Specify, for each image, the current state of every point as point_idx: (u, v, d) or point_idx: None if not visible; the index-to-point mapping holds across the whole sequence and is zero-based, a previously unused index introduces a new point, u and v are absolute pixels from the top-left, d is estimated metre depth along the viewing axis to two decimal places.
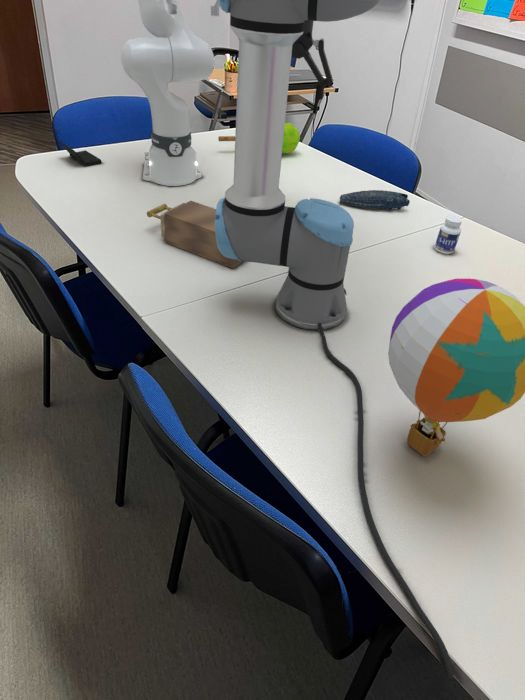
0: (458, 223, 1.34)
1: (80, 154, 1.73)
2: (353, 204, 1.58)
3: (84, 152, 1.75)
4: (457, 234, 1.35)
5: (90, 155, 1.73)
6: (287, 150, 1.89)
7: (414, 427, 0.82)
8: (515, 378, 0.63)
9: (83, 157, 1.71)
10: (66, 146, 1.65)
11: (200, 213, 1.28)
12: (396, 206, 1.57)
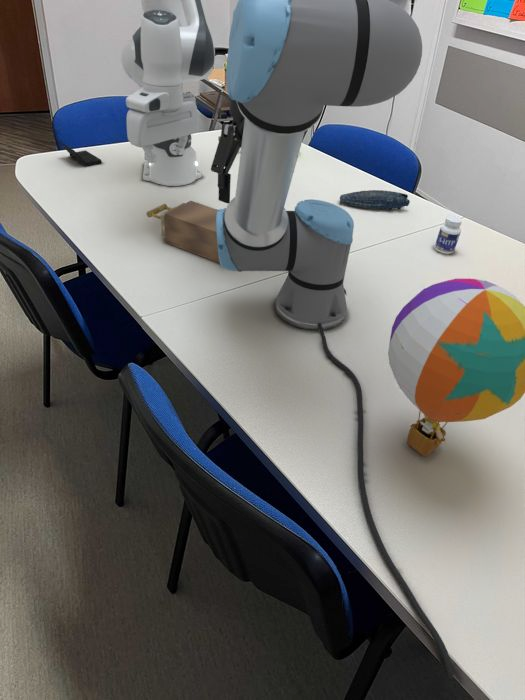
0: (458, 223, 1.34)
1: (80, 154, 1.73)
2: (353, 204, 1.58)
3: (84, 152, 1.75)
4: (457, 234, 1.35)
5: (90, 155, 1.73)
6: None
7: (414, 427, 0.82)
8: (515, 378, 0.63)
9: (83, 157, 1.71)
10: (66, 146, 1.65)
11: (200, 213, 1.28)
12: (396, 206, 1.57)
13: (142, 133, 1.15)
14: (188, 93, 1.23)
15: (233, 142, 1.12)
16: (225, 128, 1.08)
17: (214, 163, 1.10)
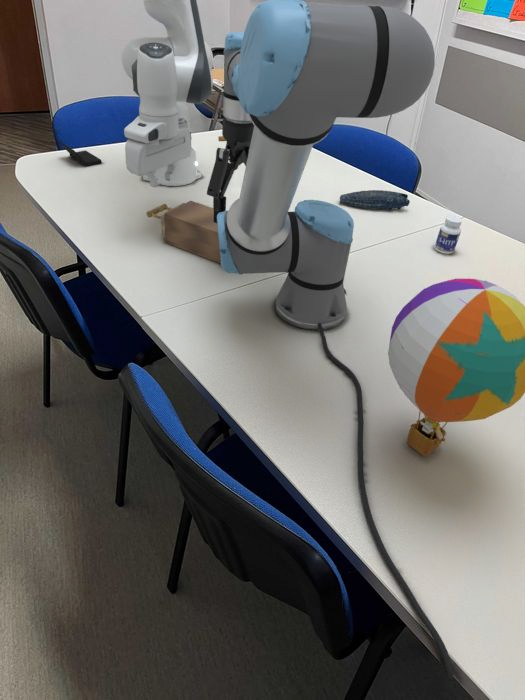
0: (458, 223, 1.34)
1: (80, 154, 1.73)
2: (353, 204, 1.58)
3: (84, 152, 1.75)
4: (457, 234, 1.35)
5: (90, 155, 1.73)
6: None
7: (414, 427, 0.82)
8: (515, 378, 0.63)
9: (83, 157, 1.71)
10: (66, 146, 1.65)
11: (200, 213, 1.28)
12: (396, 206, 1.57)
13: (141, 163, 1.18)
14: (181, 119, 1.26)
15: (227, 165, 1.12)
16: (220, 152, 1.08)
17: (210, 187, 1.10)
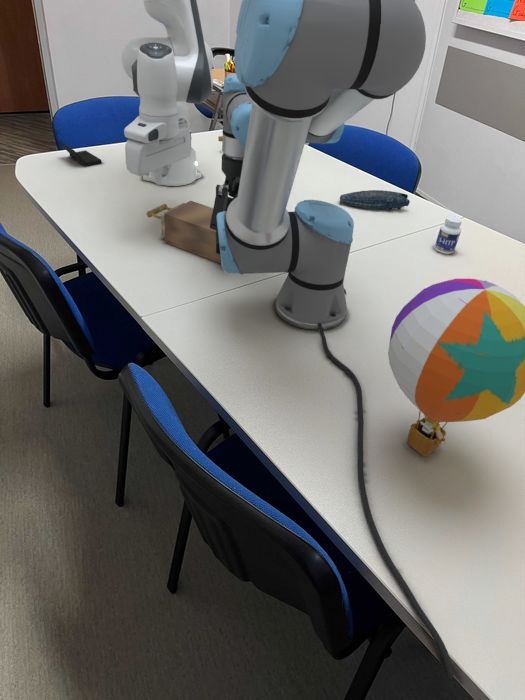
0: (458, 223, 1.34)
1: (80, 154, 1.73)
2: (353, 204, 1.58)
3: (84, 152, 1.75)
4: (457, 234, 1.35)
5: (90, 155, 1.73)
6: None
7: (414, 427, 0.82)
8: (515, 378, 0.63)
9: (83, 157, 1.71)
10: (66, 146, 1.65)
11: (200, 213, 1.28)
12: (396, 206, 1.57)
13: (141, 163, 1.18)
14: (181, 119, 1.26)
15: (227, 199, 1.17)
16: (219, 189, 1.13)
17: (212, 222, 1.16)
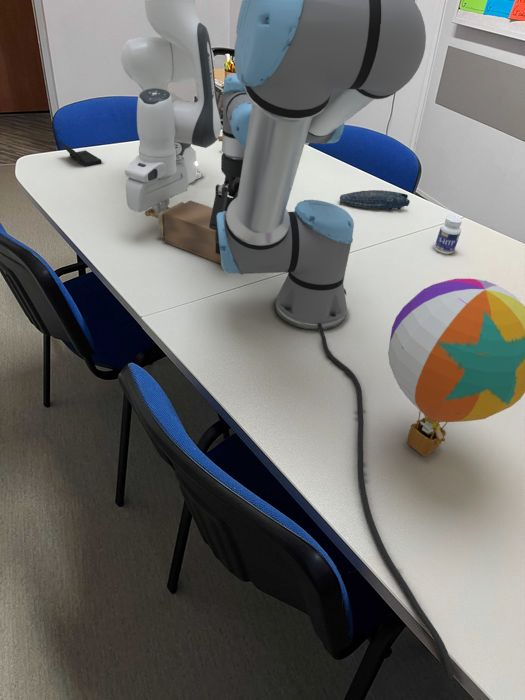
0: (458, 223, 1.34)
1: (80, 154, 1.73)
2: (353, 204, 1.58)
3: (84, 152, 1.75)
4: (457, 234, 1.35)
5: (90, 155, 1.73)
6: None
7: (414, 427, 0.82)
8: (515, 378, 0.63)
9: (83, 157, 1.71)
10: (66, 146, 1.65)
11: (199, 213, 1.28)
12: (396, 206, 1.57)
13: (141, 201, 1.24)
14: (179, 157, 1.32)
15: (227, 199, 1.17)
16: (219, 189, 1.13)
17: (212, 222, 1.16)
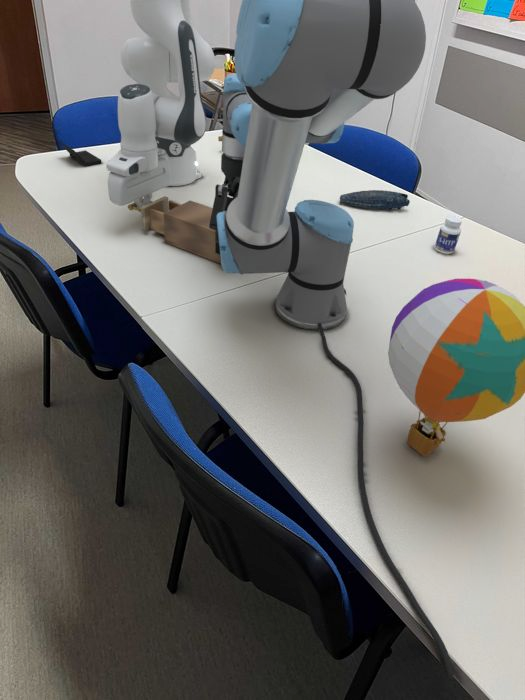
0: (458, 223, 1.34)
1: (80, 154, 1.73)
2: (353, 204, 1.58)
3: (84, 152, 1.75)
4: (457, 234, 1.35)
5: (90, 155, 1.73)
6: None
7: (414, 427, 0.82)
8: (515, 378, 0.63)
9: (83, 157, 1.71)
10: (66, 146, 1.65)
11: (199, 213, 1.28)
12: (396, 206, 1.57)
13: (123, 194, 1.26)
14: (161, 151, 1.35)
15: (227, 199, 1.17)
16: (219, 189, 1.13)
17: (212, 222, 1.16)
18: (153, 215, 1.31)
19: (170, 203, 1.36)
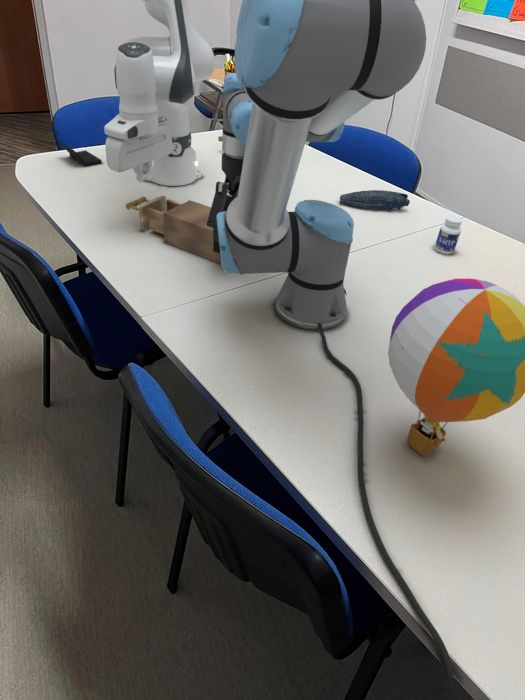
0: (458, 223, 1.34)
1: (80, 154, 1.73)
2: (353, 204, 1.58)
3: (84, 152, 1.75)
4: (457, 234, 1.35)
5: (90, 155, 1.73)
6: None
7: (414, 427, 0.82)
8: (515, 378, 0.63)
9: (83, 157, 1.71)
10: (66, 146, 1.65)
11: (199, 213, 1.29)
12: (396, 206, 1.57)
13: (121, 160, 1.20)
14: (162, 117, 1.29)
15: (226, 197, 1.16)
16: (219, 186, 1.12)
17: (210, 219, 1.14)
18: (151, 214, 1.31)
19: (168, 202, 1.36)
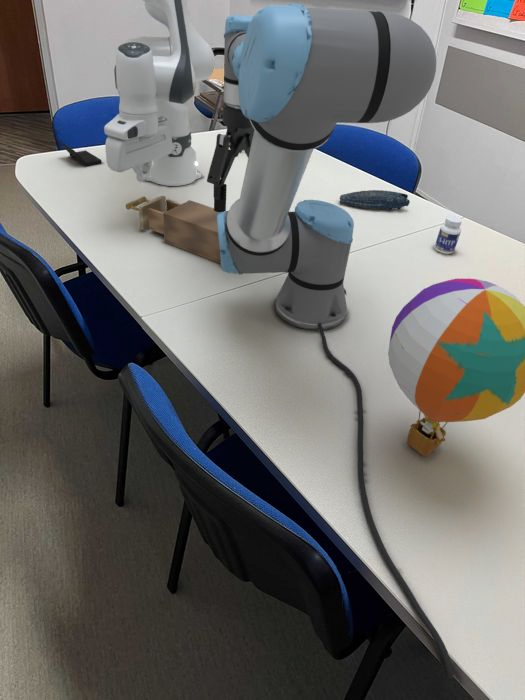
0: (458, 223, 1.34)
1: (80, 154, 1.73)
2: (353, 204, 1.58)
3: (84, 152, 1.75)
4: (457, 234, 1.35)
5: (90, 155, 1.73)
6: None
7: (414, 427, 0.82)
8: (515, 378, 0.63)
9: (83, 157, 1.71)
10: (66, 146, 1.65)
11: (199, 213, 1.29)
12: (396, 206, 1.57)
13: (121, 160, 1.20)
14: (162, 117, 1.29)
15: (228, 152, 1.10)
16: (220, 138, 1.06)
17: (210, 174, 1.08)
18: (151, 214, 1.31)
19: (168, 202, 1.36)
